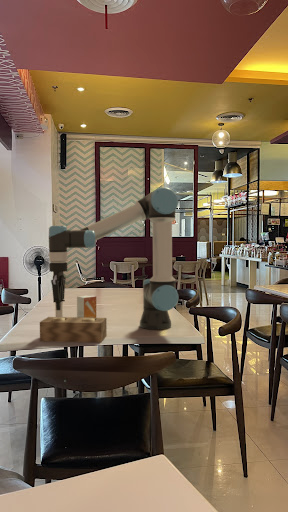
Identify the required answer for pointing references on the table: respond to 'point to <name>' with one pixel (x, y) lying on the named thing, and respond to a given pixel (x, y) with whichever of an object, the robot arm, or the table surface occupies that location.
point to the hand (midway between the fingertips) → (59, 317)
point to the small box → (86, 306)
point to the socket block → (73, 330)
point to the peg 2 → (89, 320)
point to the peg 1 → (58, 319)
